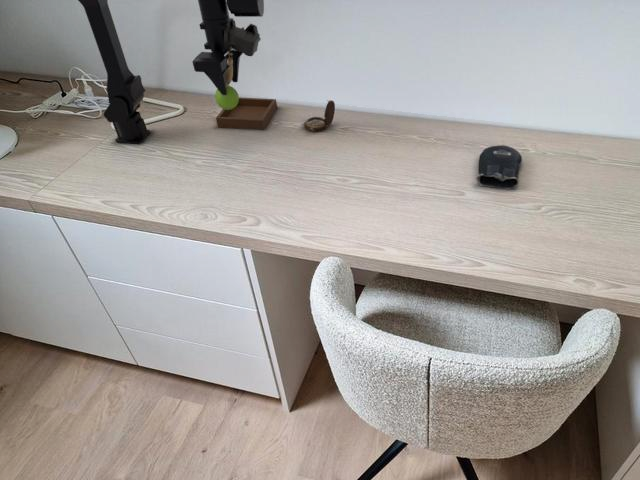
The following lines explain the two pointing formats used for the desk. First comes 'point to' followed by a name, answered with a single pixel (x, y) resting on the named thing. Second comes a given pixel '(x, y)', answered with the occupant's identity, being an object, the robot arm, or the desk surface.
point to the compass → (321, 119)
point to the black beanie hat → (499, 167)
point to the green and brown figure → (228, 90)
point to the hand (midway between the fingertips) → (229, 88)
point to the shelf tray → (248, 114)
